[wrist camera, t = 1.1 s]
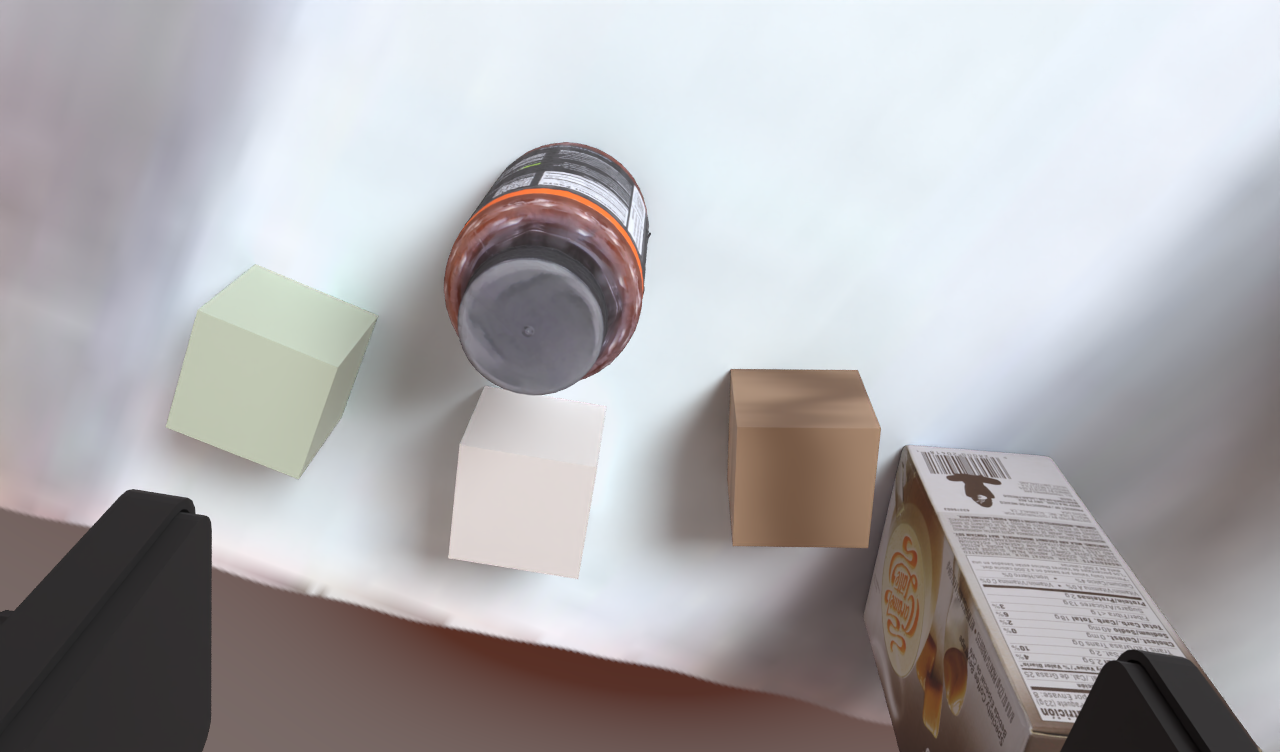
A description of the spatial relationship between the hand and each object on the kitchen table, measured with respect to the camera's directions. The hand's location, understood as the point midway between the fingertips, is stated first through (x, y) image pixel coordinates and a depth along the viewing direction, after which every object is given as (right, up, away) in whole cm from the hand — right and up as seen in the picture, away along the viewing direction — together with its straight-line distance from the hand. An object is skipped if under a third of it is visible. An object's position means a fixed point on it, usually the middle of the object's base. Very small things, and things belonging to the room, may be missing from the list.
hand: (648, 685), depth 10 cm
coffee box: (+13, -4, +32) cm, 35 cm away
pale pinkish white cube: (-4, 0, +30) cm, 31 cm away
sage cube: (-14, +5, +29) cm, 32 cm away
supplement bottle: (-3, +9, +26) cm, 28 cm away
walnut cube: (+6, +1, +30) cm, 30 cm away
